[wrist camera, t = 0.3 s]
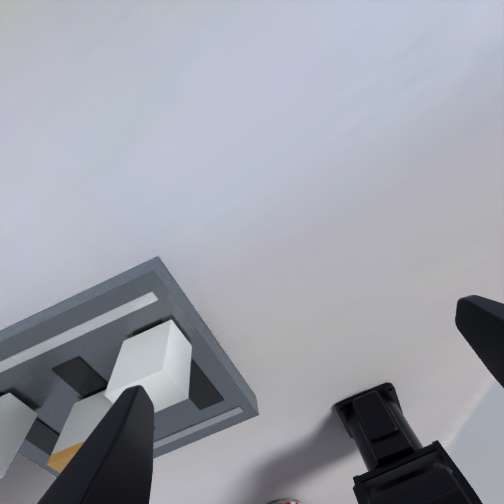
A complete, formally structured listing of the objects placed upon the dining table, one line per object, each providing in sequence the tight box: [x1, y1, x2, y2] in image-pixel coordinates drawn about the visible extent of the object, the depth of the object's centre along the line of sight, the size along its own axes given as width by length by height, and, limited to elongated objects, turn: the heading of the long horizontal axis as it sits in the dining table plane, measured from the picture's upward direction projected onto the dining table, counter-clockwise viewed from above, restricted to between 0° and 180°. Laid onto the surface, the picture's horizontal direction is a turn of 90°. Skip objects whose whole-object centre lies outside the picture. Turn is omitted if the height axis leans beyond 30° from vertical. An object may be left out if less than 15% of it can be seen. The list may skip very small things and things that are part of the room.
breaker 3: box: [104, 319, 192, 413], centre depth 21 cm, size 3×4×5 cm
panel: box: [0, 256, 259, 477], centre depth 26 cm, size 18×20×2 cm
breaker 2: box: [47, 390, 113, 473], centre depth 23 cm, size 3×4×5 cm
